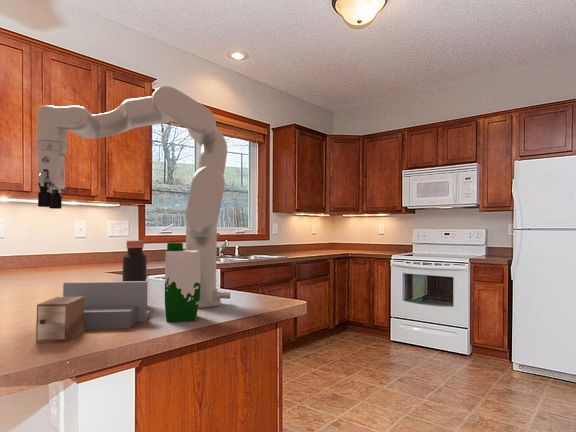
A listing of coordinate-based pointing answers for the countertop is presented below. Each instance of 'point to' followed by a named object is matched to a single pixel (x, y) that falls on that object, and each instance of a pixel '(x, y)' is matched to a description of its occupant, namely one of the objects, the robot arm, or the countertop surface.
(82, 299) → the tan wooden block
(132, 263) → the bottle
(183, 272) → the milk carton
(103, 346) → the countertop surface
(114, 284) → the wall board
